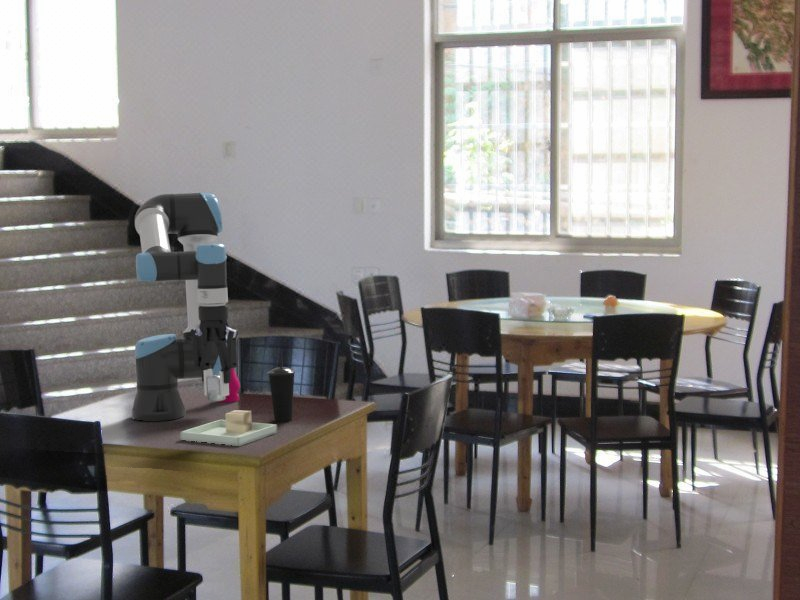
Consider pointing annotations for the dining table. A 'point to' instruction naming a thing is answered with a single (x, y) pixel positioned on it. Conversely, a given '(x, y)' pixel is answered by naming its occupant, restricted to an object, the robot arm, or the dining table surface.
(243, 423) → the beech block
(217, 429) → the tray
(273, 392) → the drinking cup
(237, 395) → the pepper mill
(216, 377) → the cylinder
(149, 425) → the dining table surface
